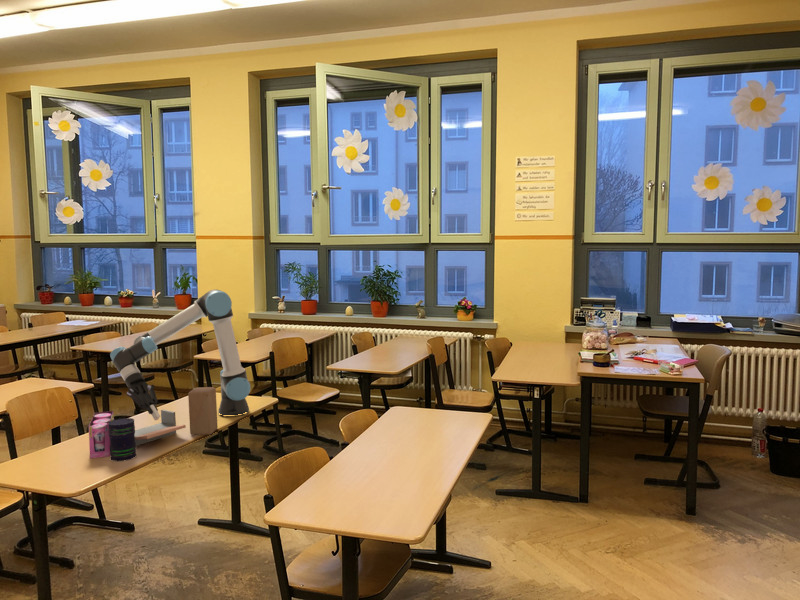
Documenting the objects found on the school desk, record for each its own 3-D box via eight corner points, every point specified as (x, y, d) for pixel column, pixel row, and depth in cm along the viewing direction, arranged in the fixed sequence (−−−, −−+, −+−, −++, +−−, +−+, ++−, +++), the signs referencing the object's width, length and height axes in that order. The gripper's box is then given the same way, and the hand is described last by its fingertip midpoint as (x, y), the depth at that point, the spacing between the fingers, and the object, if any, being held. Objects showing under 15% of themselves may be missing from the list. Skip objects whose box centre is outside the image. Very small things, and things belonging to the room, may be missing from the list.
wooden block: (211, 435, 280) (209, 391, 278) (189, 435, 280) (187, 392, 278) (218, 428, 290) (216, 386, 288) (197, 428, 290) (195, 387, 288)
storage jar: (113, 463, 245) (111, 426, 244) (107, 457, 253) (104, 421, 251) (139, 457, 252) (137, 421, 250) (132, 451, 259) (130, 416, 258)
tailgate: (173, 425, 281) (185, 424, 276) (173, 428, 281) (185, 427, 276) (134, 437, 266) (146, 436, 261) (135, 439, 266) (147, 439, 261)
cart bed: (164, 430, 288) (163, 409, 287) (176, 433, 283) (175, 412, 282) (119, 443, 270) (118, 421, 269) (131, 447, 265) (130, 424, 264)
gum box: (110, 457, 253) (108, 424, 251) (89, 460, 250) (87, 427, 249) (115, 440, 275) (113, 410, 274) (96, 442, 272) (94, 412, 271)
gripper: (142, 379, 285) (167, 419, 278) (116, 385, 275) (141, 427, 267) (148, 369, 282) (173, 409, 274) (122, 374, 271) (147, 416, 264)
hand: (157, 418), depth 271 cm, fingers closed
